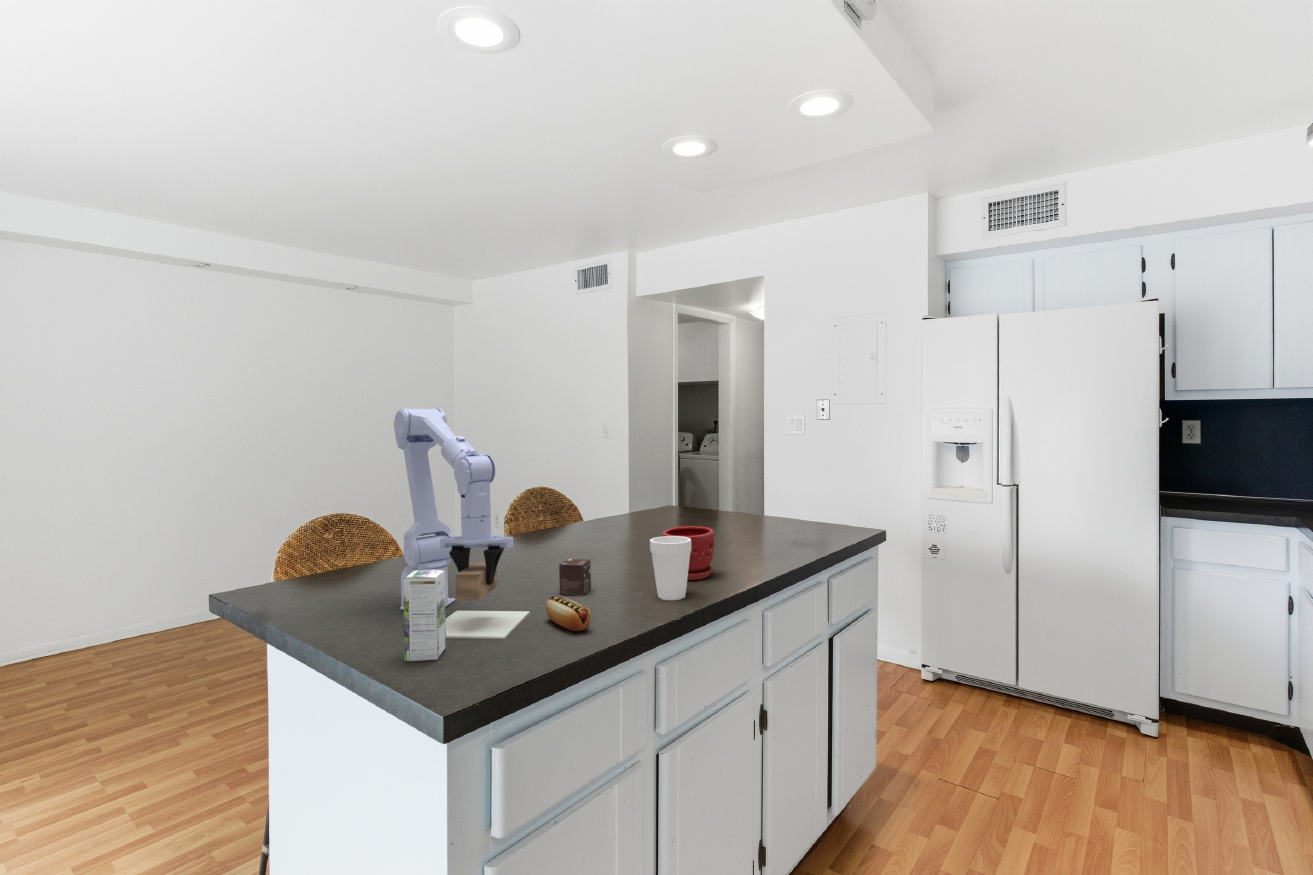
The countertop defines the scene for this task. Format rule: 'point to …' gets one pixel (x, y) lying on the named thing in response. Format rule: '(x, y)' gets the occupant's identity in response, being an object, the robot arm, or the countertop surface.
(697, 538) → the plant pot
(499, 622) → the mat
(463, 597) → the wooden block
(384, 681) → the countertop surface
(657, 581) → the foam cup
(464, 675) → the countertop surface
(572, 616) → the hot dog
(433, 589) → the syrup box
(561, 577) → the box
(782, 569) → the countertop surface
